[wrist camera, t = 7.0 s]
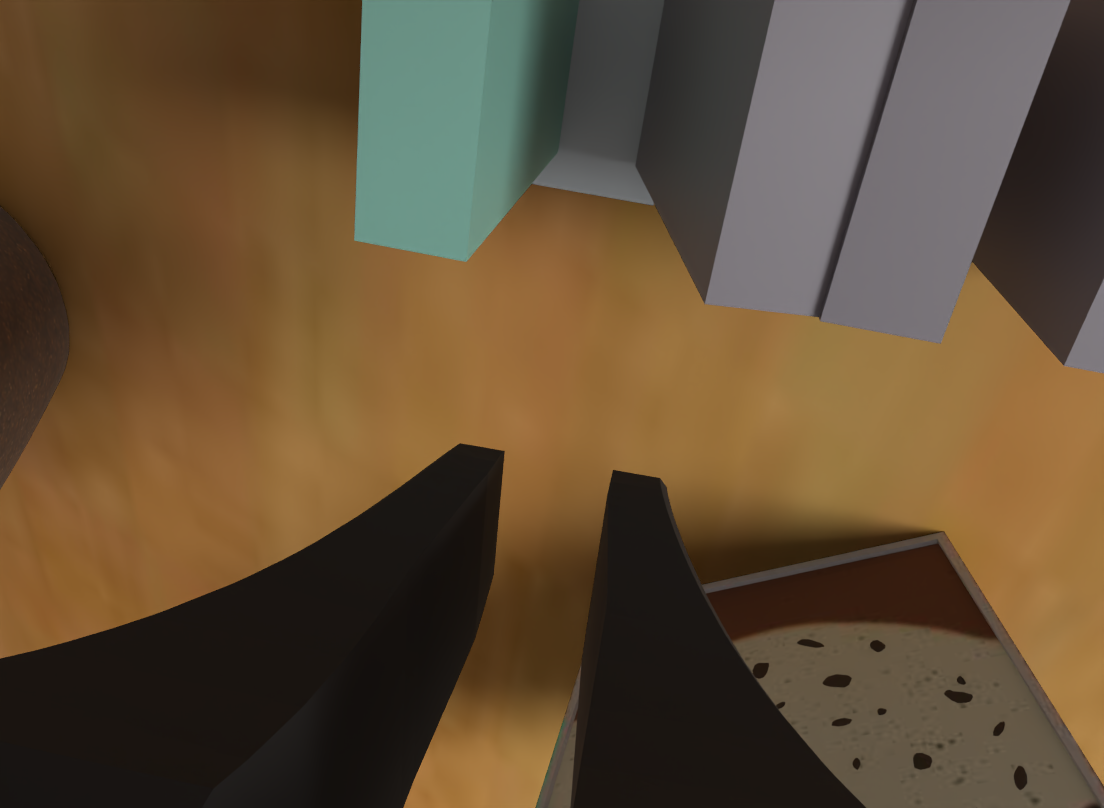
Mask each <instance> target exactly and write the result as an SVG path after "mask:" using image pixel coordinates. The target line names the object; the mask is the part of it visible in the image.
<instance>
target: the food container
mask: <svg viewBox="0 0 1104 808" xmlns="http://www.w3.org/2000/svg"><path fill="white" fill-rule="evenodd" d="M702 587H703V589H704V591H705V593H706V595H707V597H708V599H709V601H710V603H711V605H712V606H713V608H714V610H715V612H716V614H717V616H718V617H719V619H720V621H721V623H722V625H723V627H724V628H725V630H726V632H727V634H728V635H729V637H730V639H731V640H732V642H733V644H734V645H735V647H736V649H737V650H738V652H739V653H740V655H741V657H742V658H743V660H744V661H745V663H746V664H747V666H748V667H749V669H750V670H751V672H752V673H753V674H754V676H755V677H756V679H757V680H758V682H759V683H760V685H761V686H762V688H763V689H764V690H765V692H766V693H767V694H768V696H769V697H770V699H771V700H772V701H773V703H774V704H775V705H776V707H777V708H778V709H779V711H780V712H781V713H782V715H783V716H784V717H785V718H786V720H787V721H788V722H789V723H790V724H791V726H792V727H793V728H794V729H795V730H796V731H797V733H798V734H799V735H800V736H801V737H802V738H803V740H804V741H805V742H806V743H807V744H808V746H809V747H810V748H811V749H812V750H813V751H814V753H815V754H816V755H817V756H818V757H819V759H820V760H821V761H822V762H823V763H824V764H825V765H826V767H827V768H828V769H829V770H830V771H831V772H832V773H833V774H834V775H835V776H836V777H837V778H838V779H839V780H840V781H841V782H842V783H843V785H844V786H845V787H846V788H847V789H848V790H849V791H850V792H851V793H852V794H853V795H854V796H855V797H856V798H857V799H858V800H859V801H860V802H861V803H862V804H863V805H864V806H865V807H866V808H1104V786H1103V784H1102V783H1101V781H1100V779H1099V778H1098V776H1097V775H1096V773H1095V772H1094V770H1093V768H1092V767H1091V765H1090V764H1089V762H1088V760H1087V759H1086V757H1085V756H1084V754H1083V752H1082V751H1081V749H1080V748H1079V746H1078V744H1077V743H1076V741H1075V740H1074V738H1073V736H1072V735H1071V733H1070V732H1069V730H1068V728H1067V727H1066V725H1065V724H1064V722H1063V720H1062V719H1061V717H1060V716H1059V714H1058V712H1057V711H1056V709H1055V708H1054V706H1053V704H1052V703H1051V701H1050V700H1049V698H1048V697H1047V695H1046V693H1045V692H1044V690H1043V689H1042V687H1041V685H1040V684H1039V682H1038V681H1037V679H1036V677H1035V676H1034V674H1033V673H1032V671H1031V669H1030V668H1029V666H1028V665H1027V663H1026V661H1025V660H1024V658H1023V657H1022V655H1021V653H1020V652H1019V650H1018V649H1017V647H1016V645H1015V644H1014V642H1013V641H1012V639H1011V637H1010V636H1009V634H1008V633H1007V631H1006V629H1005V628H1004V626H1003V625H1002V623H1001V622H1000V620H999V618H998V617H997V615H996V614H995V612H994V610H993V609H992V607H991V606H990V604H989V602H988V601H987V599H986V598H985V596H984V594H983V593H982V591H981V590H980V588H979V586H978V585H977V583H976V582H975V580H974V578H973V577H972V575H971V574H970V572H969V570H968V569H967V567H966V566H965V564H964V562H963V561H962V559H961V558H960V556H959V555H958V553H957V551H956V550H955V548H954V547H953V545H952V543H951V542H950V540H949V539H948V537H947V535H946V534H945V532H940V533H936V534H931V535H926V536H922V537H917V538H913V539H908V540H904V541H899V542H895V543H890V544H885V545H881V546H876V547H872V548H867V549H863V550H858V551H853V552H849V553H844V554H840V555H835V556H831V557H826V558H822V559H817V560H812V561H808V562H803V563H799V564H794V565H790V566H785V567H781V568H776V569H771V570H767V571H762V572H758V573H753V574H749V575H744V576H740V577H735V578H730V579H726V580H721V581H717V582H712V583H708V584H703V585H702ZM580 675H581V666H580V669H579V672H578V675H577V679H576V682H575V685H574V688H573V691H572V694H571V698H570V701H569V704H568V707H567V710H566V713H565V716H564V720H563V723H562V726H561V729H560V732H559V735H558V739H557V742H556V745H555V748H554V751H553V754H552V757H551V761H550V764H549V767H548V770H547V773H546V776H545V780H544V783H543V786H542V789H541V792H540V795H539V798H538V802H537V805H536V808H570V806H571V793H572V780H573V767H574V754H575V740H576V727H577V714H578V701H579V688H580Z"/></svg>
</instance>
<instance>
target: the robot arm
mask: <svg viewBox="0 0 1104 808" xmlns="http://www.w3.org/2000/svg"><path fill="white" fill-rule="evenodd" d="M504 452H505V451H501V450H495V449H489V448H484V447H478V446H472V445H466V444H461V443H460V444H458V445H457V446H455V447H454V448H452V449H451V450H450V451H448V452H447V453H445V454H444V455H443V456H441V457H440V458H438V459H437V460H436V461H434V462H433V463H432V464H430V465H429V466H428V467H426V468H425V469H424V470H422V471H421V472H420V473H418V474H417V475H416V476H414V477H413V478H412V479H410V480H409V481H408V482H406V483H405V484H403V485H402V486H401V487H399V488H398V489H397V490H395V491H394V492H392V493H391V494H389V495H388V496H386V497H385V498H384V499H382V500H381V501H379V502H378V503H376V504H375V505H374V506H372V507H371V508H369V509H368V510H366V511H365V512H363V513H362V514H360V515H359V516H357V517H356V518H354V519H353V520H351V521H349V522H348V523H346V524H344V525H343V526H341V527H340V528H338V529H336V530H335V531H333V532H331V533H330V534H328V535H327V536H325V537H323V538H322V539H320V540H318V541H317V542H315V543H313V544H312V545H310V546H308V547H306V548H304V549H303V550H301V551H299V552H297V553H295V554H293V555H291V556H289V557H287V558H286V559H284V560H282V561H280V562H278V563H276V564H273V565H271V566H269V567H267V568H265V569H263V570H261V571H259V572H257V573H255V574H253V575H251V576H249V577H247V578H244V579H242V580H240V581H238V582H235V583H233V584H231V585H228V586H226V587H223V588H221V589H218V590H216V591H213V592H211V593H208V594H206V595H203V596H201V597H198V598H196V599H193V600H191V601H188V602H186V603H183V604H181V605H178V606H175V607H173V608H170V609H168V610H165V611H163V612H160V613H157V614H155V615H152V616H149V617H146V618H143V619H140V620H137V621H134V622H131V623H128V624H125V625H122V626H119V627H116V628H113V629H109V630H106V631H103V632H99V633H96V634H92V635H89V636H86V637H82V638H79V639H76V640H72V641H69V642H65V643H62V644H58V645H54V646H51V647H47V648H43V649H39V650H35V651H31V652H27V653H23V654H18V655H14V656H10V657H5V658H1V659H0V808H403V807H404V804H405V802H406V799H407V796H408V794H409V791H410V789H411V786H412V783H413V781H414V778H415V776H416V774H417V772H418V769H419V767H420V765H421V762H422V760H423V758H424V756H425V753H426V751H427V749H428V746H429V744H430V742H431V739H432V737H433V735H434V733H435V730H436V728H437V726H438V723H439V721H440V719H441V716H442V714H443V712H444V710H445V707H446V705H447V703H448V700H449V698H450V696H451V694H452V691H453V689H454V687H455V684H456V682H457V680H458V677H459V675H460V673H461V670H462V668H463V666H464V663H465V661H466V659H467V656H468V654H469V652H470V649H471V647H472V645H473V642H474V640H475V637H476V634H477V630H478V627H479V624H480V620H481V617H482V614H483V610H484V607H485V603H486V600H487V596H488V593H489V589H490V586H491V582H492V579H493V575H494V565H495V553H496V542H497V531H498V520H499V508H500V497H501V486H502V474H503V463H504ZM570 808H866V807H865V806H864V805H863V804H862V803H861V802H860V801H859V800H858V799H857V798H856V797H855V796H854V795H853V794H852V793H851V792H850V791H849V790H848V789H847V788H846V787H845V786H844V785H843V783H842V782H841V781H840V780H839V779H838V778H837V777H836V776H835V775H834V774H833V773H832V772H831V771H830V770H829V769H828V768H827V767H826V765H825V764H824V763H823V762H822V761H821V760H820V759H819V757H818V756H817V755H816V754H815V753H814V751H813V750H812V749H811V748H810V747H809V746H808V744H807V743H806V742H805V741H804V740H803V738H802V737H801V736H800V735H799V734H798V733H797V731H796V730H795V729H794V728H793V727H792V726H791V724H790V723H789V722H788V721H787V720H786V718H785V717H784V716H783V715H782V713H781V712H780V711H779V709H778V708H777V707H776V705H775V704H774V703H773V701H772V700H771V699H770V697H769V696H768V694H767V693H766V692H765V690H764V689H763V688H762V686H761V685H760V683H759V682H758V680H757V679H756V677H755V676H754V674H753V673H752V672H751V670H750V669H749V667H748V666H747V664H746V663H745V661H744V660H743V658H742V657H741V655H740V653H739V652H738V650H737V649H736V647H735V645H734V644H733V642H732V640H731V639H730V637H729V635H728V634H727V632H726V630H725V628H724V627H723V625H722V623H721V621H720V619H719V617H718V616H717V614H716V612H715V610H714V608H713V606H712V605H711V603H710V601H709V599H708V597H707V595H706V593H705V591H704V589H703V587H702V585H701V583H700V580H699V578H698V576H697V574H696V571H695V569H694V567H693V565H692V563H691V560H690V558H689V556H688V554H687V551H686V549H685V546H684V544H683V541H682V539H681V536H680V533H679V530H678V528H677V525H676V522H675V519H674V516H673V513H672V509H671V506H670V502H669V498H668V493H667V487H666V486H665V484H664V483H663V482H662V480H661V479H660V478H656V477H650V476H645V475H639V474H633V473H627V472H622V471H616V470H613V473H612V477H611V481H610V486H609V490H608V495H607V501H606V508H605V514H604V520H603V527H602V533H601V540H600V546H599V552H598V559H597V565H596V572H595V578H594V584H593V591H592V597H591V603H590V610H589V616H588V623H587V629H586V635H585V642H584V648H583V655H582V662H581V675H580V688H579V701H578V714H577V727H576V740H575V754H574V767H573V780H572V793H571V806H570Z"/></svg>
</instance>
